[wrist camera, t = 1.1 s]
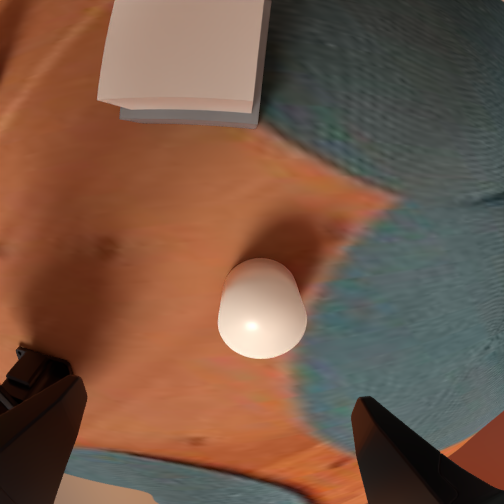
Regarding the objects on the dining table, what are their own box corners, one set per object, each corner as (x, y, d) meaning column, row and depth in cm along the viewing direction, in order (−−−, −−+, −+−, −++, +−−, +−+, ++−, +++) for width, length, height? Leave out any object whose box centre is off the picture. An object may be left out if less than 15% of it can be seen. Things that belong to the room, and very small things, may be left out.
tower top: (251, 113, 14) (253, 101, 10) (131, 109, 14) (96, 100, 10) (262, 7, 12) (267, -31, 8) (147, 7, 12) (122, -26, 8)
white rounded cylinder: (290, 326, 22) (298, 360, 18) (220, 320, 22) (215, 355, 18) (302, 261, 20) (314, 287, 17) (225, 254, 20) (220, 279, 16)
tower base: (255, 129, 18) (257, 124, 14) (143, 123, 18) (119, 119, 14) (266, 26, 16) (271, 0, 12) (157, 24, 15) (138, 0, 12)
